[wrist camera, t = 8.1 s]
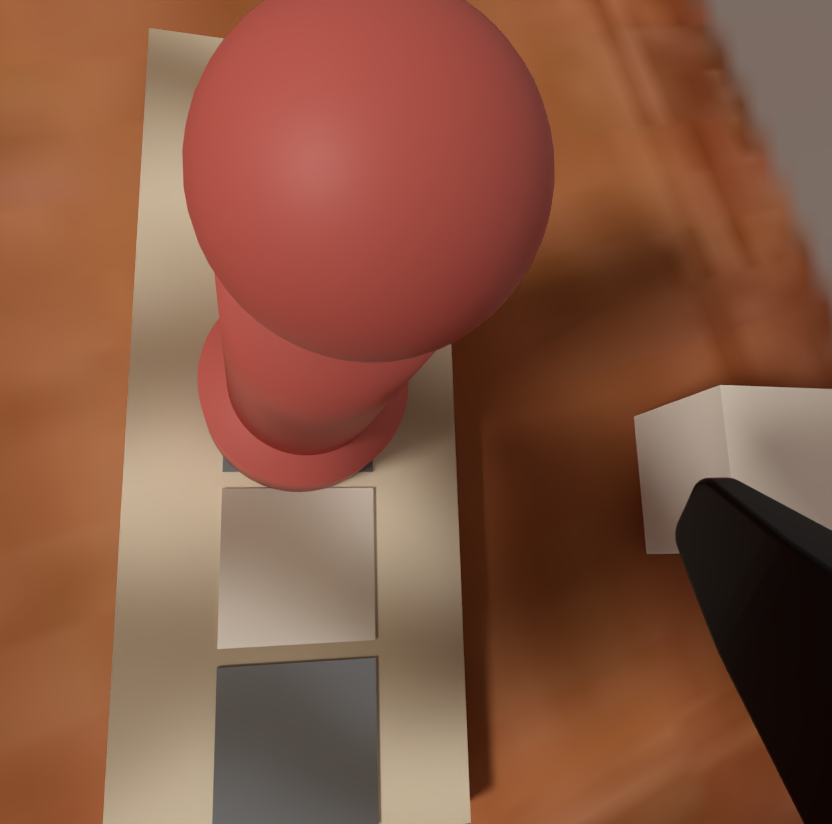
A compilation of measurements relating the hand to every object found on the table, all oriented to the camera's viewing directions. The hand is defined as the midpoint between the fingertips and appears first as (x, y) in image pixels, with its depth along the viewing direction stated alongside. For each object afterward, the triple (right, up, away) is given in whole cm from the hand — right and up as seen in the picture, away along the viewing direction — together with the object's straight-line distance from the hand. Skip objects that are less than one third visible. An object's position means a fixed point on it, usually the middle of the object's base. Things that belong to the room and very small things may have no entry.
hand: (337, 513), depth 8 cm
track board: (-2, +1, +10) cm, 11 cm away
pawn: (-2, +1, +9) cm, 10 cm away
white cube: (+9, -1, +13) cm, 16 cm away
